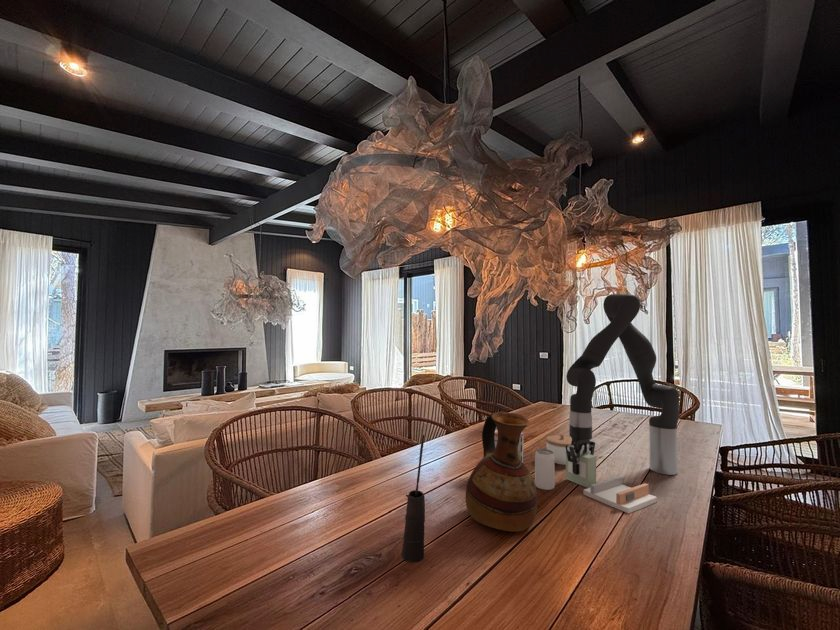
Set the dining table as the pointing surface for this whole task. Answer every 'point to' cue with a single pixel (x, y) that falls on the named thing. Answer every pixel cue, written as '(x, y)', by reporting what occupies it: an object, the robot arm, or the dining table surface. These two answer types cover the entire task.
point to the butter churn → (414, 522)
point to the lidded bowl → (558, 447)
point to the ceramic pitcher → (502, 478)
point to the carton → (583, 470)
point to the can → (544, 469)
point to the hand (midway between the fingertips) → (580, 472)
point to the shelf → (621, 494)
